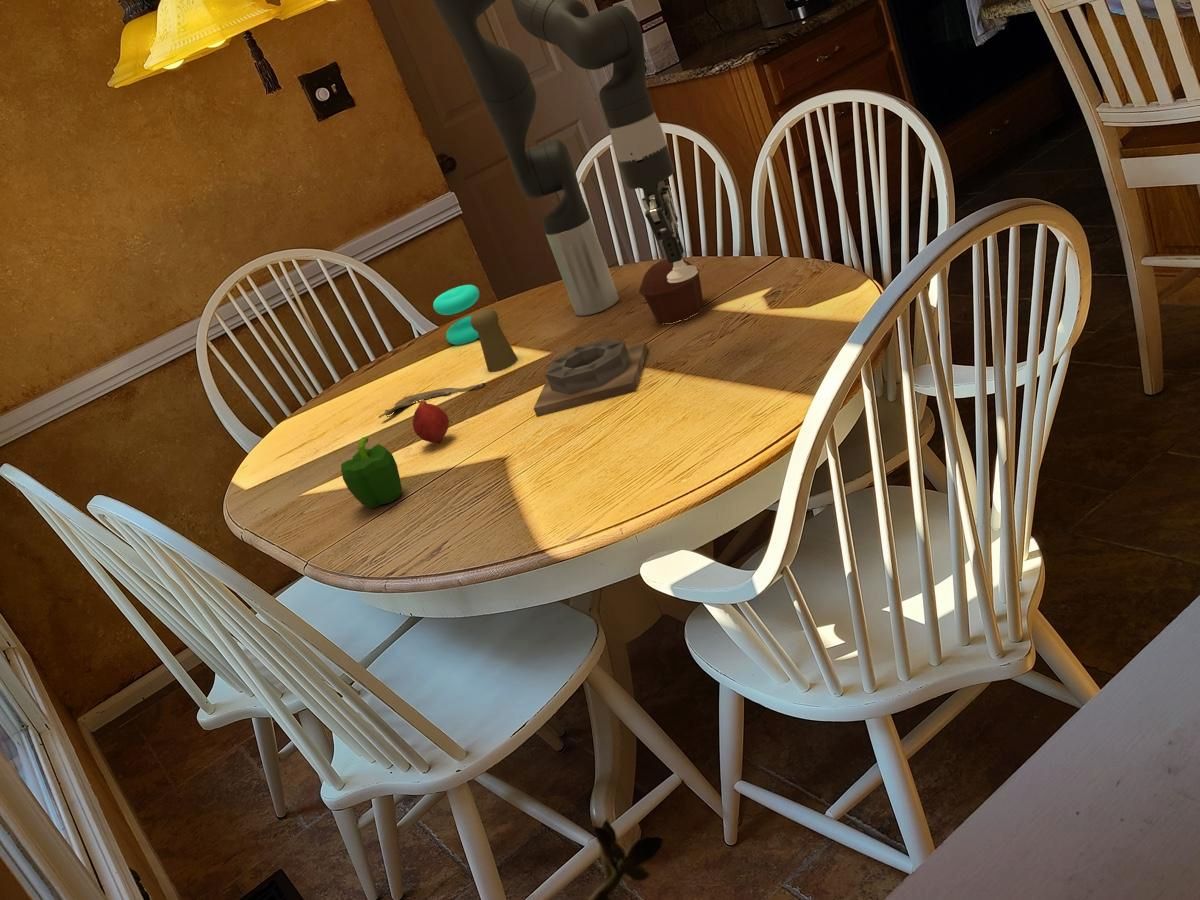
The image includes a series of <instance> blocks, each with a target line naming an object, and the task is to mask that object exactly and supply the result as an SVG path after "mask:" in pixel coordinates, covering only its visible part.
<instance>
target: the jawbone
mask: <svg viewBox="0 0 1200 900" xmlns="http://www.w3.org/2000/svg"><path fill="white" fill-rule="evenodd" d="M486 384H487V383H485V382H481V383H478V384H474V385H471V386H468V387H461V388H459V387H444V388H438V389H434V390H429V391H424V392H419V393H416V394H411V395H407V396H404V397H402V398H401V399H399V400H398V401H397V402H395V404H394V406H393V407H391V408H389V409H385V410H384V412H383V413H381V414H380V415H379V416H378V419H380V418H382V417H384V416H387V415H390V414H392V413H393V412H394V413H396V410H398V409H400V408H401V409H402V408H405V407H408V406H411V404H412V405H414V404H413V402H416V401H419V400H423V399H427V400H429V399H428V398H431V397H433V398H437V397H440V396H446V395H451V393H452V394H458V392H459V393H465V392H468V391H472V390H473V391H474V390H478V389H481V388H483V387H485V385H486ZM431 399H432V398H431ZM419 402H420V401H419ZM387 417H388V416H387Z"/></svg>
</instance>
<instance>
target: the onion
mask: <svg viewBox="0 0 1200 900" xmlns="http://www.w3.org/2000/svg"><path fill="white" fill-rule="evenodd" d="M449 421H450V419H449V417H448V415H447V413H446V411H445V410H443V409H442V408H441V407H439V406H437V405H436V404H432V403H427V400H424V399H423V400H421V401H419V402H418V406H417V408H416V409H415V412H414V414H413V418H412V427H413V431H414V433H415V434H416V435H417V437H419V438H420V439H421V440H422V441H425V442H429V443H434V444H440V443H441V442H443V441H444V437H445V436H446V434H447V433H448V430H449V426H450V422H449Z"/></svg>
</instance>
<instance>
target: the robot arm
mask: <svg viewBox="0 0 1200 900" xmlns="http://www.w3.org/2000/svg"><path fill="white" fill-rule="evenodd" d="M496 1H497V0H432V3H433V5H434V7H435V8H436V10H437V13H438V14H439V16H440V18H441V20H442V21H443V23H444V25H445V26H446V28H447V29H448V32H449V33H450V35H451V37H452V39H453V41H454V42H455V45H456V46H457V47H458V49H459V51H460V54H461V55H462V57H463V59H464V62H465V63H466V65H467V68H468V70H469V72H470V74H471V77H472V79H473V82H474V83H475V86H476V90H477V91H478V94H479V95H480V96H479V97H480V98H481V101H482V102H483V105H484V107H485V109H486V110H487V113H488V115H489V117H490V118H491V121H492V123H493V124H494V126H495V129H496V131H497V133H498V135H499V137H500V139H501V142H502V144H503V146H504V149H505V151H506V154H507V157H508V160H509V162H510V165H511V168H512V170H513V172H514V173H513V174H514V176H515V178H516V181H517V183H518V186H519V187H520V189H521V191H522V192H523V194H524V195H525V196H526V197H527V198H528V199H531V200H535V199H540V198H543V197H546V196H549V195H551V194H554V193H555V194H556V193H558V192H560V191H563V192H564V193H563V196H562V198H561V200H560V201H559V202H558V203H557V205H555V206H554V208H552V209H551V210H550V211H548V212H547V213H546V214H545V215H544V216H543V218H542V220H541V224H542V228H543V230H544V233H545V236H546V238H547V241H548V244H549V246H550V249H551V251H552V254H553V257H554V259H555V262H556V265H557V268H558V271H559V273H560V276H561V279H562V280H563V284H564V287H565V288H566V292H567V295H568V297H569V299H570V303H571V305H572V308H573V311H574V313H575V315H577V316H591V315H593V314H596V313H597V314H598V313H599V312H603V311H605V310H607V309H609V308H610V307H612V306H614V305H615V304H616V303H617V302H619V299H620V297H619V294H618V292H617V288H616V286H615V282H614V281H613V277H612V274H611V271H610V268H609V266H608V263H607V260H606V257H605V254H604V252H603V249H602V246H601V242H600V241H599V238H598V235H597V232H596V230H595V226H594V224H593V220H592V218H591V216H590V213H589V210H588V207H587V205H586V201H585V200H584V196H583V194H582V191H581V188H580V184H579V180H578V178H577V174H576V170H575V167H574V164H573V161H572V157H571V154H570V152H569V150H568V148H567V145H566V144H565V143H564V141H563V140H561V139H559V138H554V139H551V140H547V141H545V142H542V143H540V144H538V145H535V146H531V147H529V148H526V140H527V134H528V132H529V129H530V127H531V123H532V120H533V117H534V114H535V111H536V108H537V107H536V106H537V92H536V91H537V90H536V87H535V84H534V83H533V80H532V78H531V76H530V75H531V74H530V72H529V70H528V68H527V66H526V64H525V62H524V61H523V59H521V57H520V56H519V55H517V54H516V53H515V52H513V51H512V50H510V49H508V48H506V47H504V46H501V45H499V44H496V43H495V42H493V41H490V40H489V39H487V38H486V37H484V36H483V35H482V33H481V32H480V29H479V26H478V24H477V22H478V21H477V20H478V18H479V17H480V16H481V15H482V14H484V12H486V11H487V10H488V9H489V8H490V7H492V5H494V3H495V2H496ZM510 1H511V4H512V8H513V9H514V14H515V17H516V18H517V20H518V22H519V24H520V25H521V27H522V28H523V29H524V30H525V31H526V32H527V33H529V34H530V35H532V36H533V37H536V38H538V39H539V40H542V41H544V42H547V43H549V44H551V45H553V46H557V47H558V48H559V49H560V51H562V52H563V53H564V54H565V56H567V57H568V59H570V61H572V62H573V63H574V64H575V65H576V66H577V67H579V68H582V69H585V70H592V71H593V70H594V71H595V70H601V69H603V68H604V67H607V66H609V65H611V64H612V75H611V78H609V80H608V81H607V82H606V83H605V84H604V85H602V87H601V89H600V90H599V93H598V98H599V102H600V106H601V108H602V111H603V113H604V118H605V120H606V123H607V126H608V128H609V132H610V137H611V143H612V146H613V149H614V153H615V156H616V159H617V162H618V164H619V167H620V169H621V173H622V176H623V179H624V182H625V185H626V187H627V188H628V189H631V190H636V189H642V191H643V193H642V194H643V197H642V198H641V201H642V205H643V208H644V210H645V211H644V212H645V214H644V217H645V218H646V219H647V222H648V224H649V226H650V228H651V231H652V232H653V235H654V236H655V239H656V240H657V242H662V243H661V244H662V247H663V249H664V252H665V256H666V259H668V262H669V263H674V262H677V261H680V260H681V259H682V260H683V254H684V251H685V249H684V247H683V243H682V240H681V237H680V233H679V232H678V230H679V225H678V222H679V218H678V216H677V211H676V207H675V203H674V199H673V195H672V188H671V186H670V185H669V184H667V185H666V184H665V181H664V180H667V179H668V178H669V177H671V176H672V175H673V174H674V173H675V166H674V163H673V160H672V157H671V154H670V151H669V147H668V143H667V141H666V138H665V133H664V131H663V129H662V125H661V123H660V121H659V119H658V116H657V114H656V111H655V109H654V105H653V102H652V100H651V96H650V94H649V90H648V87H647V80H646V79H647V78H646V63H645V61H646V60H645V47H644V45H645V44H644V36H643V30H642V27H641V24H640V22H639V20H638V19H637V17H636V15H635V14H634V13H633V11H632V10H630V8H628V7H626V6H624V5H621V4H616V5H615V4H614V5H611V6H608V7H606V8H604V9H602V10H600V11H598V12H595V13H593V14H591V15H590V12H589V9H588V7H587V6H586V5H585V4H584V3H583V2H582V1H580V0H510ZM673 226H674V227H673ZM663 228H666V230H665V231H661V229H663ZM677 239H678V241H679V242H678V241H677Z"/></svg>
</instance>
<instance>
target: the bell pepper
mask: <svg viewBox="0 0 1200 900" xmlns="http://www.w3.org/2000/svg"><path fill="white" fill-rule="evenodd" d="M368 442H369V437H367V436H364V437H361V438H360V440H359V442H358V446H357V447H358V451H357V452H356V453H355V454H354V455H353V456H352V457H351V458H352V459H347V460H346V461H344V462H342V463H341V465H340V467H341V470H340V471H341V472H340V473H341V477H342V479H343V481H344V484H345V486H346V487H347V489H348V490H349V492H350V494H352V495H353V497H354V498H355V499H356V500H357V501H358V502H359V503H360V504H361V505H362V506H364V507H367V508H369V509H375V508H377V507H380V506H381V505H386V504H389V503H390V504H391V503H393V502H394V501H396V500H397V499H398V498H399V497H400V495H401V494H402V490H403V488H402V482H401V477H400V472H399V470H398V464H397V462H396V460H395V457H394V455H393V453H392V452H390V451H389V450H388V449H387V448H386V447H385V446H383V445H381V444H379V443H377V444H375V445H374V446H373V447H372V448H366V444H367V443H368Z"/></svg>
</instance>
